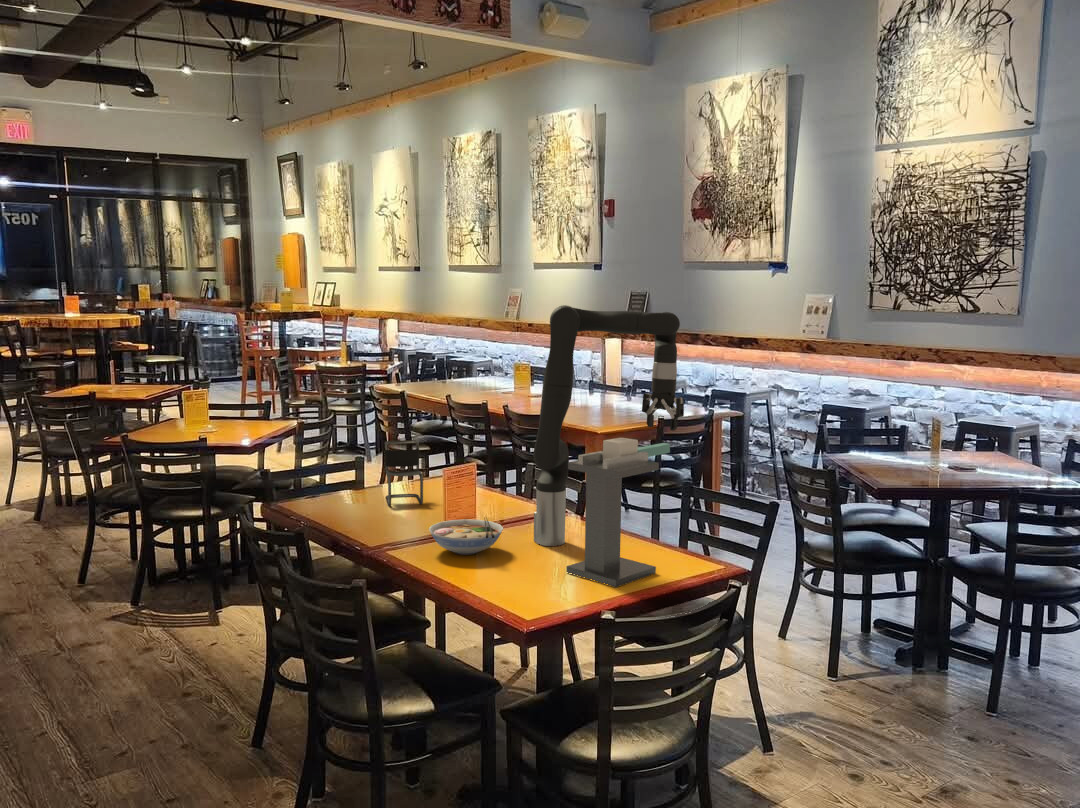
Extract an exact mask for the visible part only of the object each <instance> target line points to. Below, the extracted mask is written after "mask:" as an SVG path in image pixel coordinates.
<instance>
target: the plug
mask: <svg viewBox="0 0 1080 808" xmlns="http://www.w3.org/2000/svg"><path fill="white" fill-rule="evenodd" d="M602 442H603V443H602V451H603V459H607V458H613V457H618V456H623V455H628V454H634V453H639V452H648V458H649V457H655V456H659V455H666V454H671V444H670V443H667V442H666V443H665V442H663V443H662V442H661V443H655V444H650V445H646V446H639V447H638V445H639V444H638V443H639V441H638V439H634V438H626V437H616V438H610V439H604V440H602Z"/></svg>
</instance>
